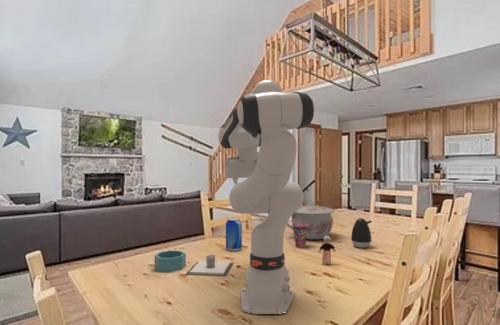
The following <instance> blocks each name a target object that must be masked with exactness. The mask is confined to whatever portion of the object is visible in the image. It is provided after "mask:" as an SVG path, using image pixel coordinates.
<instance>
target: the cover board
mask: <svg viewBox="0 0 500 325" xmlns="http://www.w3.org/2000/svg"><path fill="white" fill-rule="evenodd" d="M197 262H198V263H197ZM197 262H196V263H197V264H196V263H195V264H196V265H195V264H194V265H195V267H194V268H193V269H192V270H191V271H190V274H209V275H224V273H225V271H226V270H227V268H228V267H229V265H230V263H231V262H230V261H216V255H215V254H208V255H206V260H199V261H197Z"/></svg>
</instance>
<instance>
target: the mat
mask: <svg viewBox="0 0 500 325" xmlns="http://www.w3.org/2000/svg"><path fill="white" fill-rule="evenodd" d="M198 262H199V261H196V263H195V264H194V265H192V267H191V268H189V270H188V271H187V272H186V273H185V274H184V276H196V277H197V276H203V277H223V278H224V277H225V278H226V277H227V276H228V274H229V273H230V270H232V267H233V266H234V264H235V263H234V262H230V265H229V267H228V268H227V270H226V271H225V273H224V275H209V274H190V271H191V270H192V269H193V268H194V267H195V265H196V264H197V263H198Z"/></svg>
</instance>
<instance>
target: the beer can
mask: <svg viewBox="0 0 500 325" xmlns="http://www.w3.org/2000/svg"><path fill="white" fill-rule="evenodd" d="M242 224H243V223H242V221H241V219H240V218H239V217H229V218H227V219H226V223H225V248H226V249H227V251H229V252H237V251H241V249H242V248H243V229H242V228H243V226H242Z"/></svg>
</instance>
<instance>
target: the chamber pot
mask: <svg viewBox="0 0 500 325" xmlns="http://www.w3.org/2000/svg"><path fill="white" fill-rule="evenodd" d="M335 212H336V209H334V208H331V207H326V206H321V205H317V204H316V203H313V202H311V203H309V204H308V205H302V206H301V207H300V208H299V210H297V211H296V212H295V213H294V214H293V215H292V216H291V225H290V224H289V222H287V224H286V226H287V227H289V228H290V229H291V230H292V231H293V232H294V230H293V225H292V224H295V223H305V224H310V225H308V228H307V236H306V240H309V241H319V240H324V239H323V238H324V237H325V236H329V235H330V233H331V232H332V229H333V224H334V218H333V216H332V214H333V213H335Z"/></svg>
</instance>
